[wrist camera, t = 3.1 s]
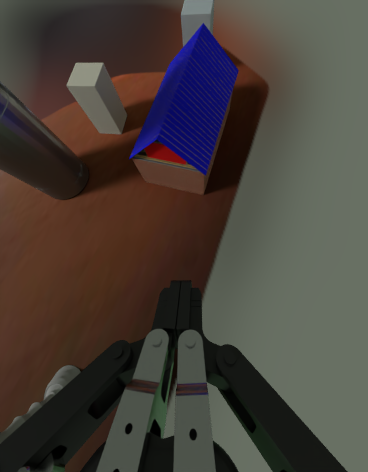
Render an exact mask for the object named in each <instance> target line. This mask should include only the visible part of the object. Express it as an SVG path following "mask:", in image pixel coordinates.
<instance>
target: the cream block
mask: <svg viewBox="0 0 368 472" xmlns="http://www.w3.org/2000/svg"><path fill="white" fill-rule="evenodd" d="M67 87H68V89H69V90H70V92H71V93H72V95H73V96H74V97H75V99H76V100H77V102H78V103H79V104H80V106H81V107H82V109H83V110H84V111H85V113H86V114H87V116H88V117H89V119H90V120H91V121H92V123H93V124H94V126H95V127H96V128H97V130H98V131H99V133H108V134H122V131H123V128H124V124H125V121H126V118H127V113H126V111H125V109H124V107H123V105H122V103H121V100H120V98H119V96H118V94H117V92H116V89H115V87H114V85H113V83H112V81H111V79H110V76H109V74H108V72H107V70H106V68H105V65H104V64H103V63H76V64H75V67H74V69H73V71H72V74H71V76H70V78H69V81H68V83H67Z"/></svg>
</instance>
